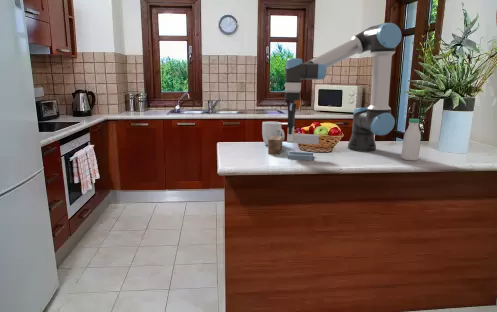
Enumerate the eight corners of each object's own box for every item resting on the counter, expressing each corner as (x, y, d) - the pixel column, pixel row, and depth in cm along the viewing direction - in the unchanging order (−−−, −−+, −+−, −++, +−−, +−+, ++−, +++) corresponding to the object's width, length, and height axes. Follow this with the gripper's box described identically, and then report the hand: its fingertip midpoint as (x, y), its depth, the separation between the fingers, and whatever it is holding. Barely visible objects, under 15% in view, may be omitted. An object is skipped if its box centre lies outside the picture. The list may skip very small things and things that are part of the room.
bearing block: (282, 149, 192) (282, 136, 191) (279, 154, 181) (280, 140, 180) (271, 149, 194) (271, 135, 192) (268, 153, 183) (268, 139, 181)
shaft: (318, 142, 174) (318, 134, 173) (318, 144, 170) (318, 136, 169) (287, 141, 177) (288, 133, 176) (287, 142, 173) (287, 134, 172)
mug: (289, 146, 203) (290, 123, 200) (277, 148, 196) (277, 125, 193) (270, 142, 214) (271, 120, 211) (257, 144, 206) (258, 122, 203)
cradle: (313, 156, 178) (313, 152, 178) (312, 160, 170) (312, 156, 169) (289, 154, 181) (289, 151, 180) (287, 158, 172) (287, 154, 172)
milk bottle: (417, 161, 170) (422, 120, 166) (399, 159, 174) (404, 119, 170) (419, 158, 176) (424, 118, 172) (402, 156, 180) (407, 117, 176)
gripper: (286, 90, 178) (284, 136, 183) (282, 92, 162) (280, 142, 167) (301, 91, 177) (299, 137, 182) (299, 92, 160) (296, 143, 165)
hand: (290, 139), depth 174 cm, fingers closed on shaft, 4 cm apart
